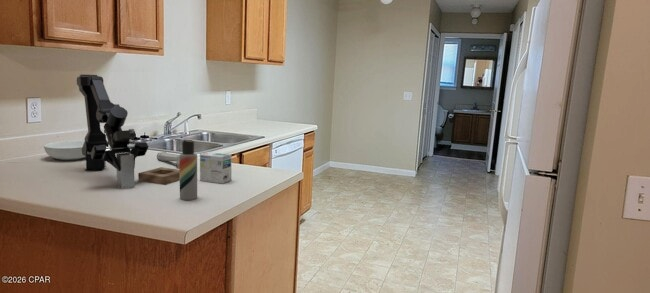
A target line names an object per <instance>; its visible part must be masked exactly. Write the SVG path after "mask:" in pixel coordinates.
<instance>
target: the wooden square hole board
mask: <svg viewBox="0 0 650 293" xmlns="http://www.w3.org/2000/svg"><path fill="white" fill-rule="evenodd" d="M137 174H138V175H137V176H138V182H145V183H151V184H152V183H153V184H158V185H164V186H165V185H168V184H172V183H175V182H178V181H179V182H180V169H178V168H177V169H175V168H170V167H161V166H160V167H156V168H154V169H153V168H152V169H148V170H145V171H140V172H138V173H137Z"/></svg>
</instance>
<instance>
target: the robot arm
mask: <svg viewBox="0 0 650 293" xmlns="http://www.w3.org/2000/svg"><path fill="white" fill-rule="evenodd" d="M76 84H77V86H78V91H79V92H80V93H81V94H82V96H84V98H83V99H84V105H85V106H84V107H85V115H86V122H87V124H86V125H87V133H86V135H85V137H84V141H85V142H84V144H83V147H82V155H84V156H86V157H85V165H86V168H85V171H103V170H104V169H105V168H106V167H107V166H106V164H107V163H108V164H110V165H111V166H112V167H114V168H115V170H116V171H117V170H118V171H120V170H121V169H120V165H119V163H118V160H117V158H116V154H120V153H131V154H133V155H134V169H135V168H136V166H135V165H136V159H137V157H143V156H146V153H147V151H148V150H149V145H148V144H149V143H148V142H146V141H141V142H139V141H138V142H137V141H136V142H135V143H134V145H133V146H129V145H130V144H131V143H130V141H131V140H132V139H135V138H136V134H137V133H136V131H135V129H134V128H129V129H128V130H127V129H125V130H123V128H122V127H124V125H125V123H126V119H127V117H128V115H129V114H128V110H127V109H125V108H124V107H122V106H120V104H119V103H118V104H117V103H115V104H114V103H113V102H111V100H110V97H109V95H108V92H107V90H106V86H105V84H104V77H103V76H101V75H97V74H83V73H82V74H80V75H79V76H77V77H76ZM101 124H104V125H103V129H104V130H103V131H102V129H101ZM87 152H89V153H87Z"/></svg>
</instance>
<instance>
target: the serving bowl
mask: <svg viewBox="0 0 650 293" xmlns="http://www.w3.org/2000/svg"><path fill="white" fill-rule="evenodd" d="M84 142H85V140H61V141H53V142H47V143H45V144H44V145H43V149H44V152H45V153H46V155H48V156H50V157H51V158H52V159H53V158H54V159H56V160H57V159H58V160H61V161H76V160H81V159H83V158H86V156H84V155H82V147H83V144H84ZM87 153H89V152H87Z"/></svg>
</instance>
